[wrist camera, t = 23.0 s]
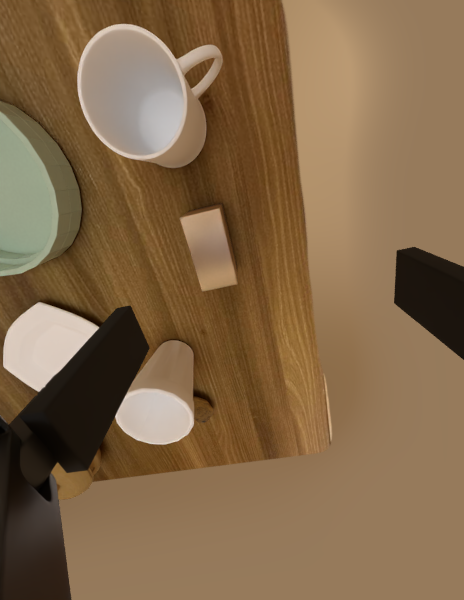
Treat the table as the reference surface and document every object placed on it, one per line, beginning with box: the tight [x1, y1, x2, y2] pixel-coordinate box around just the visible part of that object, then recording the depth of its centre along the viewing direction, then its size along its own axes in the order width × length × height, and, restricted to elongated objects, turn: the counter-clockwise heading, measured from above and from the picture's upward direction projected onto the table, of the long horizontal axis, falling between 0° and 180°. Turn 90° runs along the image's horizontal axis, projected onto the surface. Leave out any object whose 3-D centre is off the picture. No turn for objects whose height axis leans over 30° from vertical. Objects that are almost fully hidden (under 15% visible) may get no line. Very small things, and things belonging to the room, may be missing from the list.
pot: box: [51, 448, 101, 500], centre depth 50 cm, size 12×12×10 cm
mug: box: [77, 24, 223, 168], centre depth 24 cm, size 12×8×12 cm
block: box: [180, 203, 238, 291], centre depth 32 cm, size 9×4×6 cm, turn 13°
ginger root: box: [193, 396, 214, 423], centre depth 47 cm, size 10×10×4 cm
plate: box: [3, 302, 99, 392], centre depth 43 cm, size 19×19×2 cm
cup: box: [115, 340, 194, 444], centre depth 38 cm, size 10×10×13 cm
